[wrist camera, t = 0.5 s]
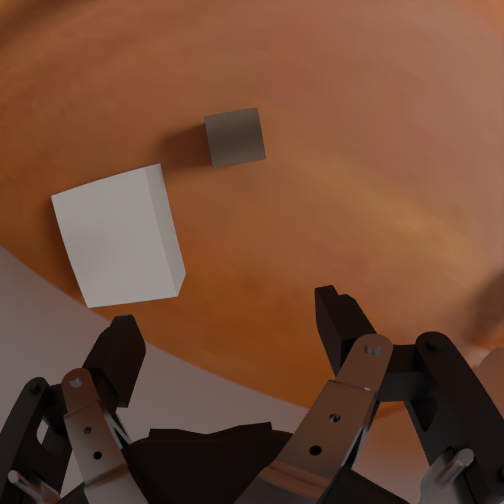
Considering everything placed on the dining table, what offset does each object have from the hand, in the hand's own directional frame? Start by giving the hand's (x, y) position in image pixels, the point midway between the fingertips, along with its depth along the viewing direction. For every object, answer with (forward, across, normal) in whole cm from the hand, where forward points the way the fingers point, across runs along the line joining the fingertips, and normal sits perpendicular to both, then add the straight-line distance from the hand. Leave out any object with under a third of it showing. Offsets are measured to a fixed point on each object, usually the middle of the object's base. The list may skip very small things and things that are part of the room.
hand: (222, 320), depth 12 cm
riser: (+23, +13, +1) cm, 27 cm away
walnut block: (+24, -2, -7) cm, 25 cm away
